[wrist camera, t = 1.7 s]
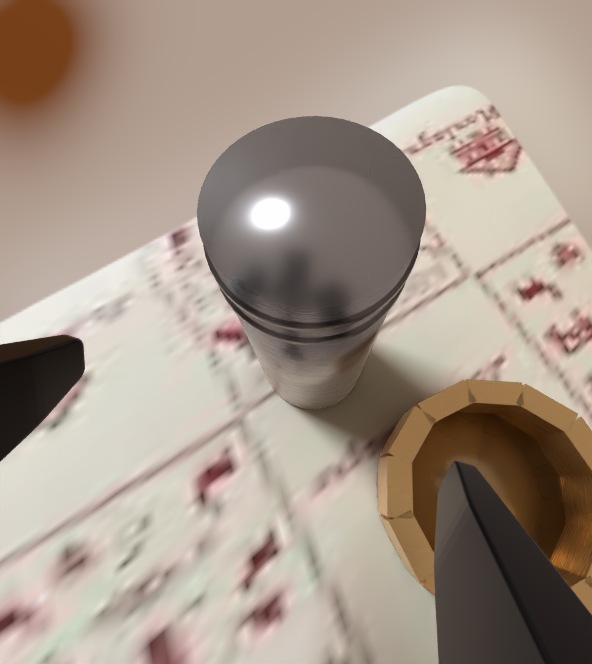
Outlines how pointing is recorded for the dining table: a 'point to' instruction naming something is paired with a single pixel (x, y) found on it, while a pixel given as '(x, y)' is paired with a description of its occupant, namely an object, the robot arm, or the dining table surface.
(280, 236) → the grey metal cylinder
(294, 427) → the dining table surface
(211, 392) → the dining table surface
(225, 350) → the dining table surface
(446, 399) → the ring collar
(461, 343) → the dining table surface
